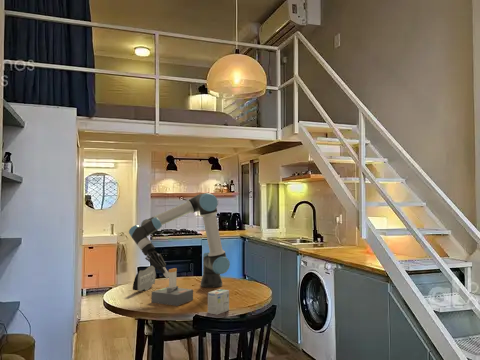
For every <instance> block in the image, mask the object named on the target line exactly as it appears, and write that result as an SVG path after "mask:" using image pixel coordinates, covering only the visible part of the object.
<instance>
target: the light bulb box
mask: <svg viewBox="0 0 480 360" xmlns="http://www.w3.org/2000/svg"><path fill="white" fill-rule="evenodd" d="M229 311H230V290H228V289H224V288H223V289H222V288H219V289H215V290H212V291H208V292H207V313H208V314H211V315H217V316H218V315H220V314H223V313H226V312H229Z"/></svg>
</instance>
